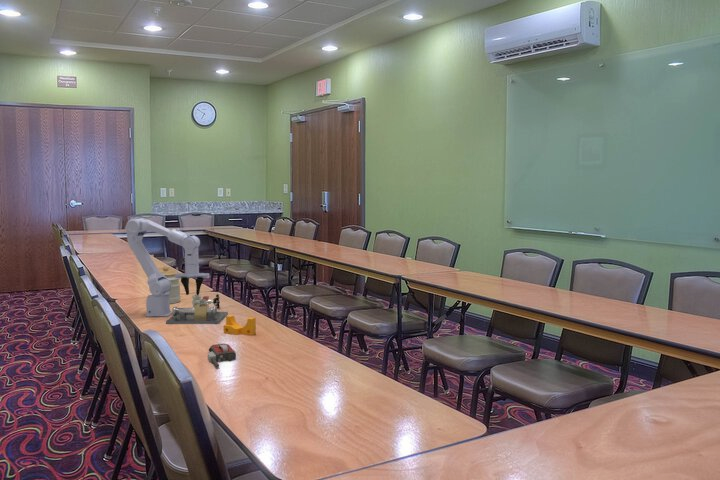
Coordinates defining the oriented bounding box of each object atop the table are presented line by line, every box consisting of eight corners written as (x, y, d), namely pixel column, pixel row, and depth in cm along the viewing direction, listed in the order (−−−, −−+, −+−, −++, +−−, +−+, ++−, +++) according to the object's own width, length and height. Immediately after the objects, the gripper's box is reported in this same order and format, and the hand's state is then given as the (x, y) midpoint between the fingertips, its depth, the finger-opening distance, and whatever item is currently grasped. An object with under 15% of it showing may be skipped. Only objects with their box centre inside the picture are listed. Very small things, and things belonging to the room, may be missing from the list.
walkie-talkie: (202, 353, 205) (214, 370, 187) (202, 341, 204) (214, 357, 186) (228, 350, 209) (242, 367, 190) (228, 338, 208) (241, 353, 190)
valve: (192, 311, 269) (219, 309, 273) (192, 297, 269) (219, 295, 273) (191, 308, 276) (218, 306, 280) (191, 294, 275) (217, 292, 279)
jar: (185, 301, 290) (184, 266, 288) (161, 305, 281) (160, 268, 279) (172, 298, 299) (171, 263, 297) (147, 301, 290) (146, 266, 288)
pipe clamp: (223, 333, 231) (223, 317, 231) (230, 330, 235) (230, 314, 234) (249, 336, 226) (248, 320, 226) (255, 334, 230) (255, 317, 230)
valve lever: (203, 305, 252) (203, 300, 252) (198, 305, 252) (198, 300, 252) (209, 300, 263) (209, 295, 263) (204, 300, 263) (204, 295, 263)
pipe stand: (165, 323, 245) (165, 309, 245) (178, 314, 263) (177, 300, 263) (219, 323, 246) (218, 309, 245) (227, 313, 264) (227, 300, 263)
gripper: (172, 265, 254) (173, 296, 255) (206, 265, 254) (207, 296, 256) (177, 262, 261) (178, 293, 262) (210, 262, 261) (210, 293, 263)
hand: (192, 294), depth 260 cm, fingers open, 4 cm apart
